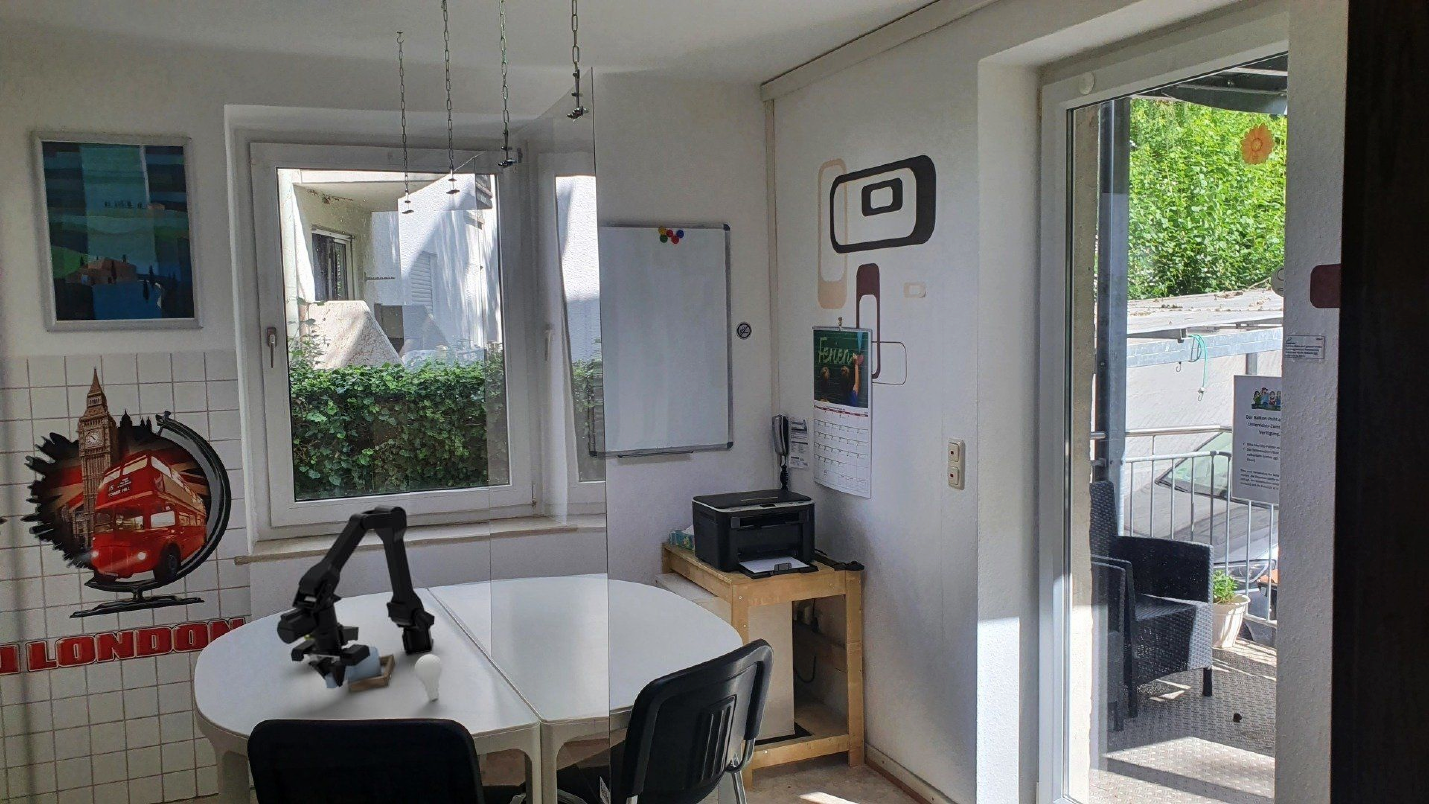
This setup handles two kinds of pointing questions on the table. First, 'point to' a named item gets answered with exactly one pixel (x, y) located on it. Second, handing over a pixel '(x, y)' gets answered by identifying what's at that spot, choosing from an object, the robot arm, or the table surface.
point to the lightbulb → (429, 674)
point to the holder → (375, 681)
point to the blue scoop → (359, 670)
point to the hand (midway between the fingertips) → (336, 685)
